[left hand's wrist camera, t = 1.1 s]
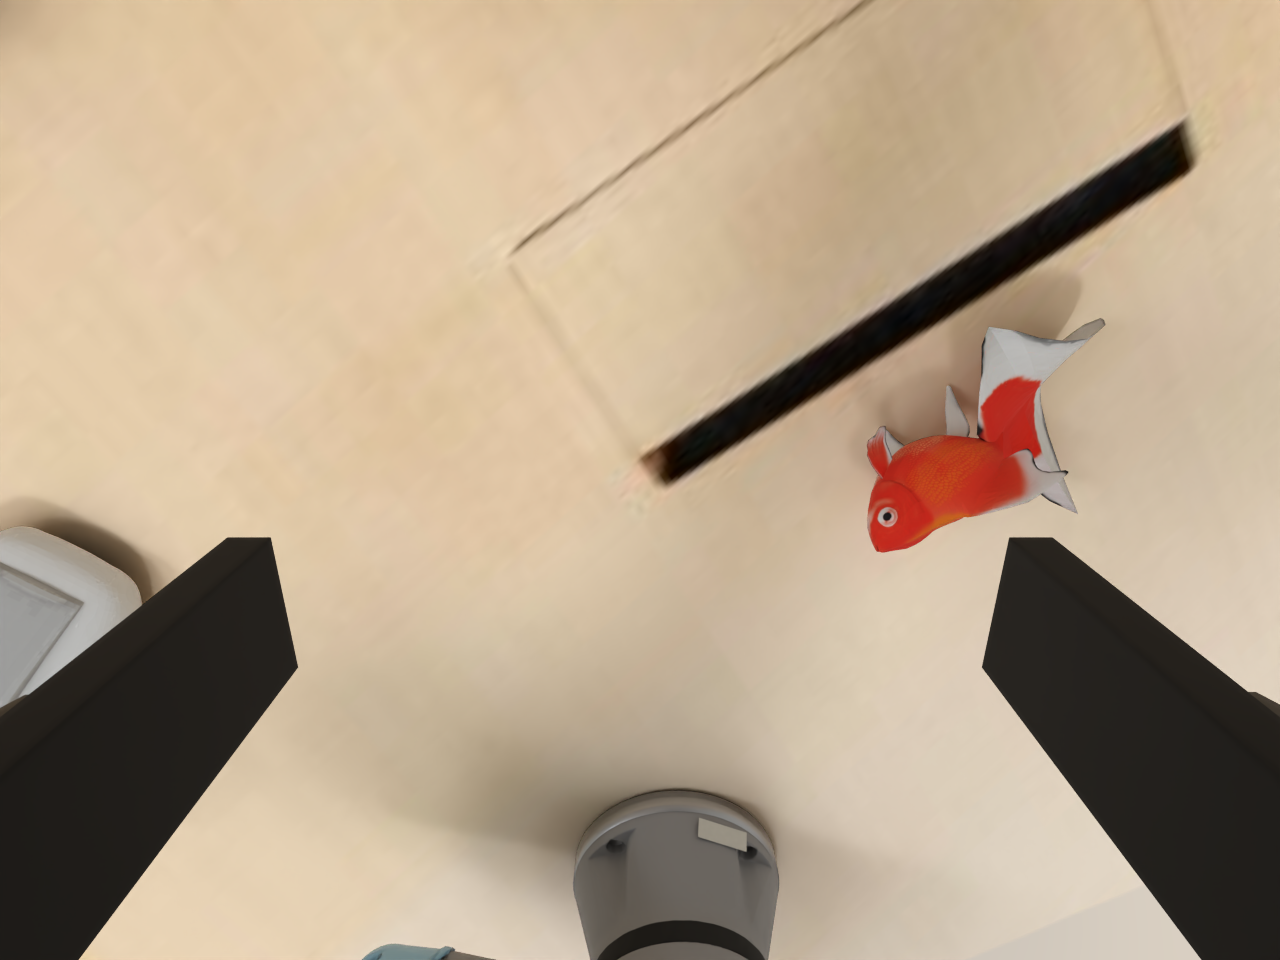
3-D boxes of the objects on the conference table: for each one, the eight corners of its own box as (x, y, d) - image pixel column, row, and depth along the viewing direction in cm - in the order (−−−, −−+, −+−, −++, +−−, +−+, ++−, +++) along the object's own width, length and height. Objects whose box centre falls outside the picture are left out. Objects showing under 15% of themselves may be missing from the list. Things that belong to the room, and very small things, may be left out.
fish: (783, 396, 35) (953, 481, 27) (995, 242, 38) (1198, 280, 31) (818, 537, 41) (963, 636, 34) (996, 395, 45) (1163, 457, 38)
